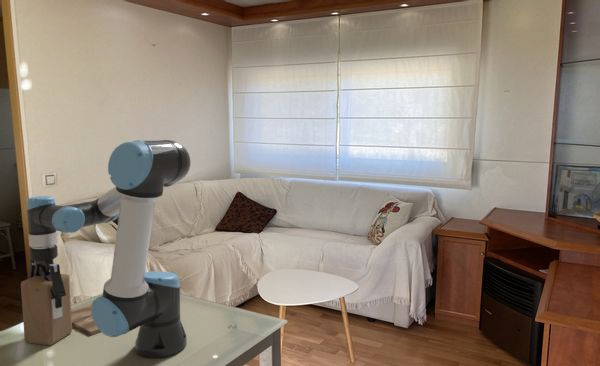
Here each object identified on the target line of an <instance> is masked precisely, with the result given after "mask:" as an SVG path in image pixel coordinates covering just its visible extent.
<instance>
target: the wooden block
mask: <svg viewBox="0 0 600 366" xmlns="http://www.w3.org/2000/svg"><path fill="white" fill-rule="evenodd" d="M60 274H61V277H62V281H63V285H64V289H65V292H66V296H62V312H63V316H62V317H59V318H56V319H53V316H52V299H51V297H53V296H52V293H51V286H52V285H53V283H52V281H47V280H46V279H44V277H43V276H42V275H39V276H34V277H32V278H29V279H28V278H26V279H25V280H22V281H21V282H20V289H21V290H20V291H21V294H20V295H21V303H22V304H21V305H22V319H23V320H22V322H23V333H24V335H23V337H24V342H25V343H26V344H27V343H28V344H37V345H44V346H52V345H54V344H56V343H58V341H61V340H62V339H64V338H66V337H67V336H69V335H70V334H71V333H72V332H73V326H72V319H71V310H72V305H71V304H72V302H71V301H72V300H71V288H70V287H71V285H70V275H69V274H65V273H60Z"/></svg>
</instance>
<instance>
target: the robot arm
mask: <svg viewBox="0 0 600 366" xmlns="http://www.w3.org/2000/svg"><path fill="white" fill-rule="evenodd" d="M191 162H192V161H191V157H190V154H189V152H188V150H187V149H186V148H185V147H184V145H182V144H181V143H180V142H177V141H174V140H171V139H163V140H161V139H160V140H139V139H138V140H137V139H136V140H132V141H125V142H123V143H121V144H119V145H118V146H116V147H115V148H114V149H113V151H112V152H111V154H110V156H109V160H108V163H107V173H108V175H110V177H109V179H110V181H111V183H112V184H113V185H114V187H113V188H111V189H109V190H108V191H106V192H105V193H103V194H102V195H101V196H99V197H98V198H96V199H95V200H92V201H90V200H89V201H86V202H85V201H84V202H80V203H72V204H67V205H57V204H56V200H55V197H54V196H51V195H37V196H31V197H29V198H28V199H27V200H26V216H27V227H28V228H27V229H28V246H29V247H30V248H29V258H30V259H29V260H30V261H29V264H30V266H29V272H28V277H27V279H29V278H32V277H34V276H39V275H42V276H43V277H44V279H46V280H47V281H52V283H53V285H52V286H51V293H52V296H53V297H51V299H52V316H53V319H56V318H59V317H62V316H63V312H62V296H66V292H65V289H64V285H63V281H62V277H61V274H62V273H61V268H60V267H61V266H60V264H59V263H57V264H55V263H54V260H55V259H56V258H57V257H58V256H59V253H58V246H57V243H58V239H57V237H58V233H57V231H58V232H61V233H67V234H68V233H71V234H72V233H76V232H78V231H80V230H81V229H82V228H86V227H90V226H94V225H100V224H107V223H110V222H112V221H115V220H117V227H116V233H115V235H116V236H115V243H114V252H113V260H112V266H111V267H112V268H111V274H110V275H111V276H110V278H109V279H107V280H106V281H105V282H104V283H103V289H102V295H101V296H98V297H96V298H95V299H94V300H93V301H92V303H91V304H92V306H91V314H92V318H93V320H94V323H95V324H96V326H97V328H98V329H99V330H100V331H101V332H100V333H102V334H103V335H104V336H107V337H109V338H117V337H119V336H123V335H126V334H128V333H129V332H131V331H133V330H135V329H137V328H139V330H138V332H137V337H136V340H135V343H134V345H135V353H136V354H138V355H139V356H141V357H143V358H149V359H156V358H157V359H159V358H165V357H166V358H167V357H171V356H173V355H176V354H178V353H180V352H182V351H183V350H184V349H185V348H186V346H187V343H188V342H187V341H188V340H187V339H188V337H187V334H186V331H185V328H184V325H183V324H182V321H181V320H182V319H181V286H180V278H179V276H178V275H177V274H176V273H173V272H170V271H160V270H158V271H157V270H156V271H155V270H154V271H146V269H147V261H148V253H149V248H150V241H151V236H152V235H151V234H152V228H153V220H154V216H155V215H154V214H155V207H156V201H158V199H160V198H161V197H162V196H163V193H164V188H169V187H171V186H173V185H174V184H176V183H177V182H179V181H181V180H183V179H184V178H185V177H186V175H187V174H188V173H189V171H190V169H191Z"/></svg>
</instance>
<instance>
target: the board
mask: <svg viewBox="0 0 600 366" xmlns="http://www.w3.org/2000/svg"><path fill="white" fill-rule="evenodd" d="M91 306H92V303H90V304H87V305H85V306H81V307H77V308H75V309H71V319H72V327H74V328H76V329H77V330H79V331H82V332H83V333H85V334H87V335H89V336H93V335H96V334H99V333H102V332H101V331H100V330H99V329H98V328H97V326H96V324H95V323H94V320H93V318H92V314H91Z"/></svg>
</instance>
